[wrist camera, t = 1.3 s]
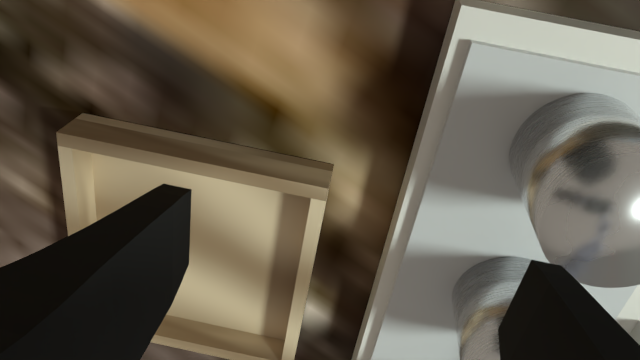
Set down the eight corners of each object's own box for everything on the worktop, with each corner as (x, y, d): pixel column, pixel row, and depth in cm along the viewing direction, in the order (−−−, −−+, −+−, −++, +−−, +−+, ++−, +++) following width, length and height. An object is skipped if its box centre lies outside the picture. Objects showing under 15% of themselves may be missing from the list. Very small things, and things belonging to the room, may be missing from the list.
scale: (568, 444, 28) (628, 637, 21) (340, 395, 29) (322, 567, 22) (834, 69, 17) (1155, 203, 10) (456, -5, 18) (500, 72, 10)
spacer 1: (537, 344, 22) (567, 439, 19) (439, 323, 23) (448, 413, 19) (579, 269, 20) (623, 359, 16) (470, 246, 20) (487, 330, 16)
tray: (297, 342, 27) (291, 372, 25) (98, 298, 27) (78, 326, 26) (333, 164, 22) (328, 188, 20) (82, 112, 22) (55, 132, 20)
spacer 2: (609, 216, 19) (664, 301, 15) (491, 192, 19) (516, 270, 15) (669, 107, 17) (752, 174, 13) (536, 80, 17) (578, 138, 13)
